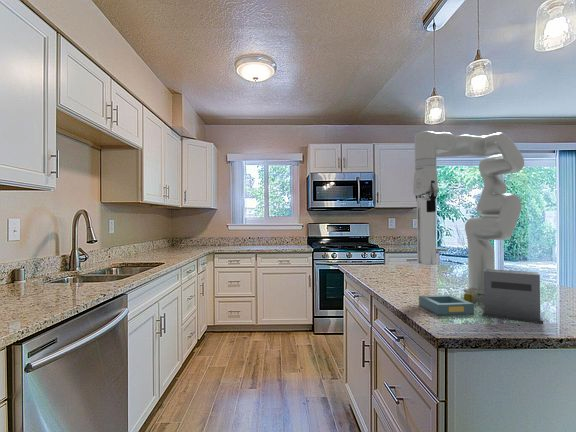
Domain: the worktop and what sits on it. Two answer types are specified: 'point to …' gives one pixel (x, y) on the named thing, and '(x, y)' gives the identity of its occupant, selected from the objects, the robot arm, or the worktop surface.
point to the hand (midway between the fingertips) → (426, 211)
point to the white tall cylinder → (426, 234)
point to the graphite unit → (512, 295)
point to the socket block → (446, 305)
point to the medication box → (471, 295)
